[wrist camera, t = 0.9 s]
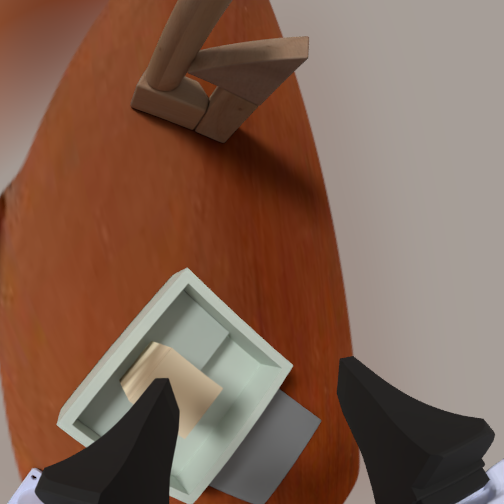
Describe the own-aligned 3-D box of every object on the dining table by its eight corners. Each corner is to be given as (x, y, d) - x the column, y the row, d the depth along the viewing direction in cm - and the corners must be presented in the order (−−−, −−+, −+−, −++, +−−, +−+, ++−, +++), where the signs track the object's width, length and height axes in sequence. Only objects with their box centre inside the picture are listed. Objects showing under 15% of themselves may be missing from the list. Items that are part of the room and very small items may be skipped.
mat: (260, 505, 23) (262, 506, 23) (202, 481, 21) (203, 483, 21) (319, 419, 29) (321, 420, 29) (272, 384, 27) (275, 385, 27)
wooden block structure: (223, 145, 30) (344, 28, 15) (128, 108, 26) (199, -50, 10) (230, 120, 31) (340, 8, 16) (141, 84, 27) (214, -60, 12)
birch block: (160, 411, 20) (184, 439, 15) (118, 380, 19) (129, 401, 14) (190, 373, 22) (223, 388, 17) (151, 340, 21) (172, 347, 16)
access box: (176, 484, 20) (191, 505, 17) (61, 408, 18) (56, 424, 14) (267, 361, 28) (293, 365, 24) (172, 275, 25) (187, 267, 22)
